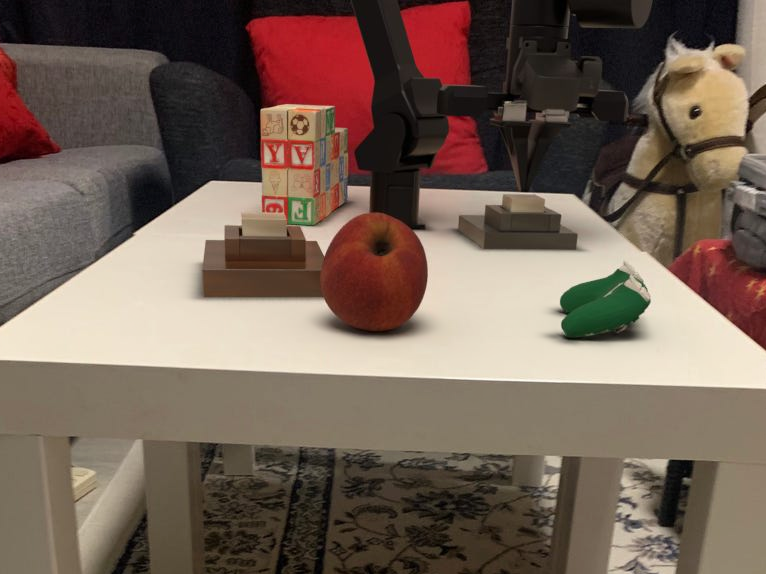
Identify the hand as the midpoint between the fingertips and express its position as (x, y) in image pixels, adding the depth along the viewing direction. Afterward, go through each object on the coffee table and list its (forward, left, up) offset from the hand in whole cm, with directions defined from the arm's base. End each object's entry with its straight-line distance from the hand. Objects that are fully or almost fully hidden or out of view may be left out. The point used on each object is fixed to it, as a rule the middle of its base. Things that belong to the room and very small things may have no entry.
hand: (523, 191), depth 99 cm
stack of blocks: (-21, -21, -6) cm, 30 cm away
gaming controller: (+35, -4, -6) cm, 36 cm away
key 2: (0, 0, -2) cm, 2 cm away
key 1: (+19, -28, -2) cm, 34 cm away
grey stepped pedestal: (-2, 0, -5) cm, 6 cm away
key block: (+19, -28, -5) cm, 34 cm away
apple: (+35, -21, -6) cm, 41 cm away
